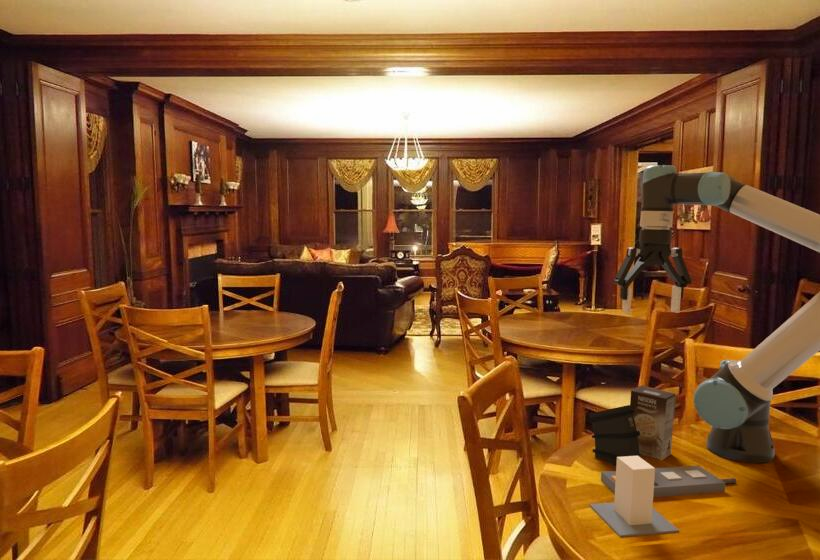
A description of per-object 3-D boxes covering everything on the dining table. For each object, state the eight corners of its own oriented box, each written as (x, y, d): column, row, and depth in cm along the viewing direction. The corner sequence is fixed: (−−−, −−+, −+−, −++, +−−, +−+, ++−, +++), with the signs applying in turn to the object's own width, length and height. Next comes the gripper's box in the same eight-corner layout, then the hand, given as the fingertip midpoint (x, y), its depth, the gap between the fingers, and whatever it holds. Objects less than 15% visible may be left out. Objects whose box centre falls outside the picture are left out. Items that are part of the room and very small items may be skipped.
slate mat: (643, 503, 125) (643, 500, 125) (678, 534, 114) (679, 530, 114) (589, 507, 123) (589, 504, 123) (619, 539, 111) (620, 535, 111)
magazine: (642, 473, 136) (621, 406, 140) (599, 477, 147) (581, 415, 151) (653, 469, 138) (632, 404, 142) (609, 474, 149) (591, 413, 153)
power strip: (721, 474, 140) (722, 461, 140) (749, 491, 131) (750, 478, 131) (600, 482, 135) (601, 469, 135) (621, 501, 126) (622, 487, 126)
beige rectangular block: (634, 508, 122) (637, 455, 120) (651, 523, 116) (655, 468, 115) (613, 509, 121) (616, 456, 120) (629, 525, 115) (633, 469, 114)
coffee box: (625, 451, 153) (628, 389, 151) (636, 445, 157) (640, 384, 155) (661, 462, 146) (666, 398, 144) (672, 455, 151) (676, 392, 149)
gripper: (617, 228, 146) (612, 315, 148) (710, 229, 150) (704, 314, 152) (602, 227, 153) (598, 310, 155) (691, 228, 157) (685, 309, 160)
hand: (650, 312), depth 154 cm, fingers open, 13 cm apart
